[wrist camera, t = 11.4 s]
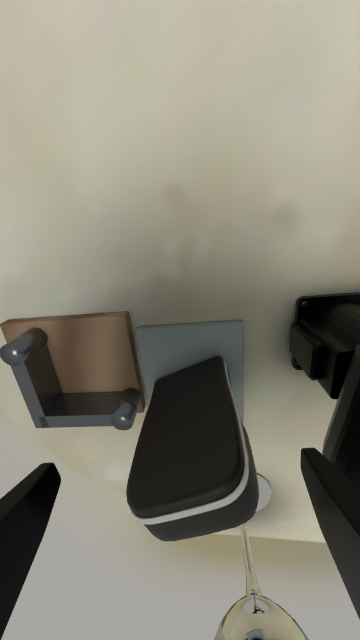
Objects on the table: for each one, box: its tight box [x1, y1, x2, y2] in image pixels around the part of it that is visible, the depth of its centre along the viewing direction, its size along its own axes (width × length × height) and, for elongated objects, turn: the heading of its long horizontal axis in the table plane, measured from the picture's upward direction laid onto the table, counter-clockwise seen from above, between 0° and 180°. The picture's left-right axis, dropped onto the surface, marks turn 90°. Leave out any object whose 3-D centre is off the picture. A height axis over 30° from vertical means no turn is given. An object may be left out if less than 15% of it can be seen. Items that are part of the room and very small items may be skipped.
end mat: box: [135, 320, 243, 424], centre depth 22 cm, size 9×11×1 cm
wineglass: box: [214, 474, 309, 640], centre depth 19 cm, size 8×8×20 cm
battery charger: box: [126, 356, 259, 541], centre depth 17 cm, size 7×4×11 cm, turn 117°
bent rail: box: [0, 327, 141, 430], centre depth 20 cm, size 9×8×3 cm
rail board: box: [0, 311, 145, 413], centre depth 23 cm, size 11×10×1 cm
